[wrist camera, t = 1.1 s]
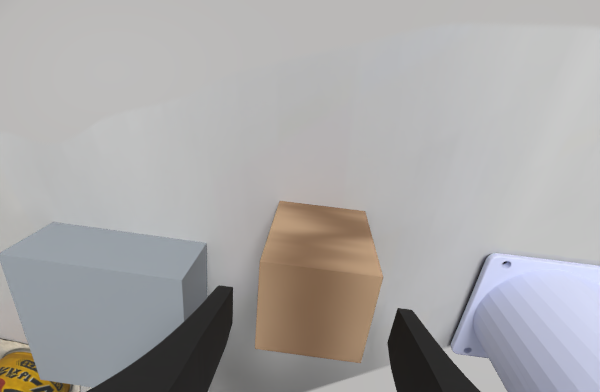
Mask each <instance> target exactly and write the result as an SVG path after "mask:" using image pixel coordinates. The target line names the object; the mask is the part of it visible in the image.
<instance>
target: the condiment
mask: <svg viewBox="0 0 600 392" xmlns="http://www.w3.org/2000/svg"><path fill="white" fill-rule="evenodd" d="M0 392H80V385H73V384H66V383H60V382H53V381H47V380H40V377H39V374H38V371H37V368H36V365H35V362H34V359H33V356H32V353H31V350H30V347H29V345H26V344H22V343H18V342H12V341H5V340H2V339H0Z"/></svg>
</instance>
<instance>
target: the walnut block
mask: <svg viewBox="0 0 600 392" xmlns="http://www.w3.org/2000/svg"><path fill="white" fill-rule="evenodd" d="M382 280H383V275H382V271H381V267H380V264H379V260H378V256H377V253H376V249H375V246H374V242H373V238H372V235H371V231H370V227H369V224H368V220H367V216H366V213H365V211H358V210H350V209H342V208H334V207H326V206H318V205H309V204H301V203H293V202H285V201H280V202H279V205H278V208H277V211H276V214H275V217H274V220H273V223H272V226H271V229H270V232H269V235H268V238H267V241H266V244H265V247H264V250H263V253H262V256H261V259H260V267H259V285H258V302H257V320H256V338H255V349H261V350H268V351H276V352H283V353H290V354H298V355H305V356H312V357H319V358H327V359H334V360H341V361H349V362H356V363H361V360H362V356H363V352H364V349H365V345H366V341H367V337H368V333H369V329H370V326H371V322H372V318H373V314H374V310H375V307H376V303H377V299H378V295H379V291H380V287H381V284H382Z"/></svg>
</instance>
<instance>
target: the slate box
mask: <svg viewBox="0 0 600 392" xmlns="http://www.w3.org/2000/svg"><path fill="white" fill-rule="evenodd" d="M0 262H1V265H2V268H3V271H4V274H5V277H6V280H7V283H8V286H9V289H10V292H11V295H12V297H13V300H14V303H15V306H16V309H17V312H18V315H19V318H20V321H21V324H22V327H23V330H24V333H25V336H26V339H27V341H28V344H29V347H30V350H31V353H32V356H33V359H34V362H35V365H36V368H37V371H38V374H39V377H40V380H47V381H53V382H60V383H66V384H73V385H80V386H86V387H93V388H94V387H95V386H97V385H99V384H100V383H102V382H104V381H105V380H107V379H109V378H110V377H112V376H114V375H115V374H117V373H118V372H120V371H122V370H123V369H125V368H126V367H128V366H129V365H131V364H132V363H133V362H135V361H136V360H138V359H139V358H140V357H142V356H143V355H145V354H146V353H147V352H149V351H150V350H151V349H152V348H154V347H155V346H156V345H158V344H159V343H160V342H161V341H163V340H164V339H165V338H166V337H167V336H168V335H170V334H171V333H172V332H173V331H174V330H175V329H176V328H177V327H179V326H180V325H181V324H182V323H183V322H184V321H185V320H186V319H187V318H188V317H189V316H190V315H191V314H192V313H193V312H194V311H195V310H196V309H197V308H198V307H199V306H200V305H201V304H202V303H203V302H204V301H205V300H206V299H207V243H202V242H194V241H187V240H180V239H173V238H165V237H158V236H151V235H144V234H136V233H129V232H122V231H115V230H108V229H100V228H93V227H86V226H79V225H71V224H64V223H57V222H53V223H51V224H49V225H47V226H46V227H44V228H42V229H41V230H39V231H37V232H35V233H34V234H32V235H30V236H28V237H27V238H25V239H23V240H21V241H20V242H18V243H16V244H15V245H13V246H11V247H9V248H8V249H6V250H4V251H2V252H1V253H0Z"/></svg>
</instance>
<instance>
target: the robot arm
mask: <svg viewBox="0 0 600 392" xmlns="http://www.w3.org/2000/svg"><path fill="white" fill-rule="evenodd" d="M505 261H507V262H506V263H505V264H502V263H503V262H505ZM232 316H233V287H226V286H218V287H217V288H216V289H215V290H214V291H213V292H212V293H211V294H210V295H209V297H208V298H207V299H206V300H205V301H204V302H203V303H202V304H201V305H200V306H199V307H198V308H197V309H196V310H195V311H194V312H193V313H192V314H191V315H190V316H189V317H188V318H187V319H186V320H185V321H184V322H183V323H182V324H181V325H180V326H179V327H177V328H176V329H175V330H174V331H173V332H172V333H171V334H170V335H168V336H167V337H166V338H165V339H164V340H163V341H161V342H160V343H159V344H158V345H156V346H155V347H154V348H152V349H151V350H150V351H149V352H147V353H146V354H145V355H143V356H142V357H140V358H139V359H138V360H136V361H135V362H133V363H132V364H131V365H129V366H128V367H126V368H125V369H123V370H122V371H120V372H118V373H117V374H115V375H114V376H112V377H110V378H109V379H107V380H105V381H104V382H102V383H100V384H99V385H97V386H95V387H94V388H92V389H90V390H88V391H87V392H207V391H208V389H209V387H210V384H211V382H212V379H213V377H214V374H215V372H216V369H217V367H218V364H219V362H220V359H221V357H222V354H223V352H224V349H225V347H226V344H227V340H228V337H229V333H230V329H231V326H232ZM451 348H452V350H453V352H454V353H456V354H461V355H469V356H477V357H484V358H489V359H490V361H491V363H492V364H493V366H494V368H495V370H496V372H497V373H498V375H499V377H500V379H501V381H502V382H503V384H504V386H505V388H506V390H507V391H508V392H600V266H597V265H589V264H581V263H573V262H565V261H557V260H549V259H541V258H533V257H525V256H517V255H509V254H501V253H494V254H491V255H489V256H488V257H487V259H486V261H485V263H484V266H483V268H482V270H481V273H480V275H479V278H478V280H477V282H476V285H475V287H474V290H473V292H472V294H471V297H470V299H469V302H468V304H467V306H466V309H465V311H464V314H463V316H462V318H461V321H460V323H459V326H458V328H457V330H456V333H455V335H454V338H453V340H452V342H451ZM388 350H389V358H390V365H391V370H392V373H393V378H394V382H395V386H396V390H397V392H480V391H479V390H478V389H477V388H476V387H475V386H474V385H473V384H472V382H471V381H470V380H469V379H468V378H467V377H466V376H465V375H464V374H463V373H462V372H461V370H460V369H459V368H458V367H457V366H456V365H455V364H454V363H453V361H452V360H451V359H450V358H449V357H448V356H447V354H446V353H445V352H444V351H443V349H442V348H441V347H440V346H439V344H438V343H437V342H436V341H435V339H434V338H433V337H432V335H431V334H430V333H429V332H428V330H427V329H426V328H425V326H424V325H423V324H422V322H421V321H420V320H419V318H418V317H417V316H416V314H415V313H414V312H413V311H412V310H408V309H400V308H398V309H397V313H396V316H395V319H394V323H393V326H392V329H391V333H390V336H389V339H388Z"/></svg>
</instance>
